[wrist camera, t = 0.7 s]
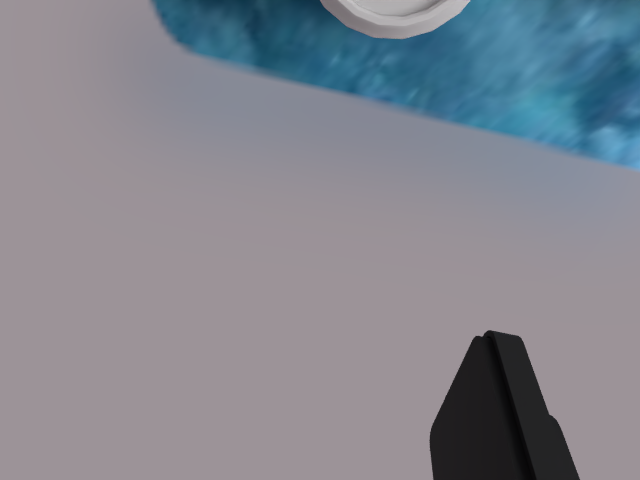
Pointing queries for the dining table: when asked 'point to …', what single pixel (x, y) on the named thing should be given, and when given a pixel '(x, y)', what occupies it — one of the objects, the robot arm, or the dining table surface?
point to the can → (394, 15)
